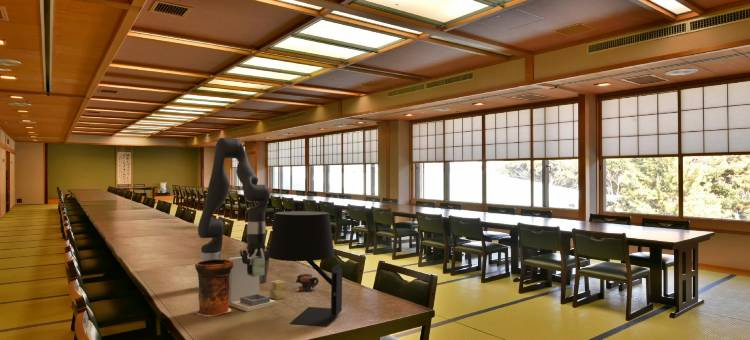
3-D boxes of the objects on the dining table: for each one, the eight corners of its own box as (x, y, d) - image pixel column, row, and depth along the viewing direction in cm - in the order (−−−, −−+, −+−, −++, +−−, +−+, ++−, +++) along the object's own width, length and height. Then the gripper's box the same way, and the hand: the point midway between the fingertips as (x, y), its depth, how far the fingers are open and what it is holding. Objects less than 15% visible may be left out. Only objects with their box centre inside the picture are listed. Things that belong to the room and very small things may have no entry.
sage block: (247, 275, 187) (247, 258, 187) (257, 273, 191) (257, 256, 191) (254, 276, 184) (254, 259, 184) (264, 274, 188) (264, 258, 188)
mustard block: (269, 297, 201) (270, 281, 201) (278, 295, 205) (279, 279, 205) (276, 299, 198) (277, 283, 198) (285, 297, 202) (286, 281, 202)
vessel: (210, 319, 168) (211, 265, 169) (186, 313, 175) (187, 262, 176) (240, 310, 180) (241, 260, 181) (217, 305, 188) (217, 257, 188)
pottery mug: (292, 292, 212) (292, 275, 217) (301, 296, 220) (300, 280, 225) (316, 287, 210) (315, 270, 214) (323, 292, 218) (322, 275, 222)
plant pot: (277, 280, 233) (278, 249, 234) (254, 286, 220) (254, 253, 220) (255, 276, 242) (256, 246, 242) (231, 282, 228) (232, 250, 229)
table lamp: (329, 328, 160) (331, 216, 161) (255, 323, 165) (258, 214, 166) (346, 308, 185) (348, 211, 186) (282, 304, 190) (283, 209, 191)
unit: (227, 304, 188) (228, 258, 188) (255, 298, 199) (256, 254, 199) (247, 311, 179) (248, 262, 179) (276, 304, 189) (276, 258, 190)
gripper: (265, 230, 196) (264, 269, 195) (236, 232, 185) (235, 274, 184) (275, 231, 191) (275, 271, 190) (246, 234, 180) (246, 276, 179)
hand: (255, 272), depth 187 cm, fingers closed on sage block, 5 cm apart
